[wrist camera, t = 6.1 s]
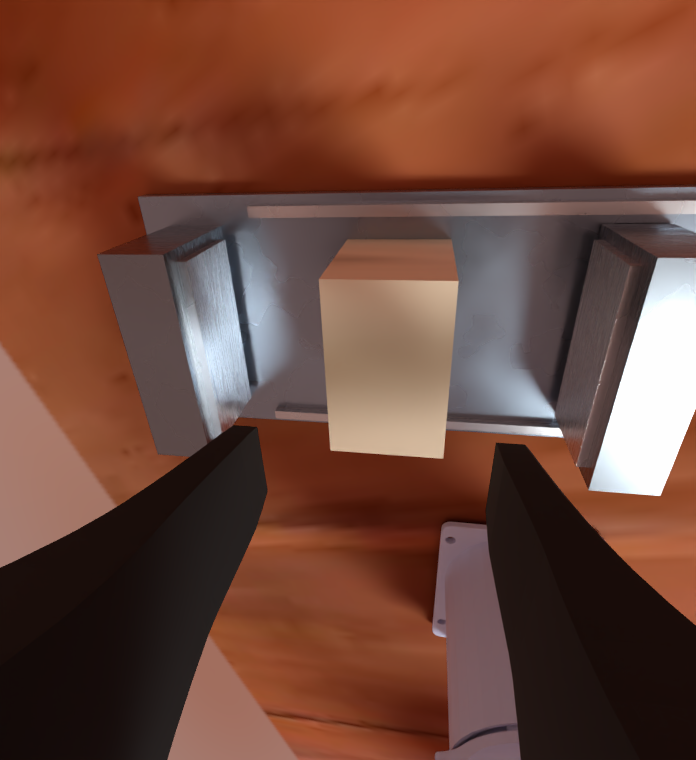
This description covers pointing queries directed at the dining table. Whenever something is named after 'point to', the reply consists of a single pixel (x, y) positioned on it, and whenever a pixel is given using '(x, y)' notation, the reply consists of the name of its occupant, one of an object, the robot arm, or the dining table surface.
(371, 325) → the block
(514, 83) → the dining table surface
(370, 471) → the dining table surface
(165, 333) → the vise
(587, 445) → the jaw
